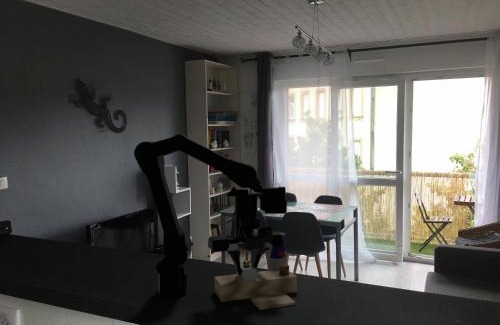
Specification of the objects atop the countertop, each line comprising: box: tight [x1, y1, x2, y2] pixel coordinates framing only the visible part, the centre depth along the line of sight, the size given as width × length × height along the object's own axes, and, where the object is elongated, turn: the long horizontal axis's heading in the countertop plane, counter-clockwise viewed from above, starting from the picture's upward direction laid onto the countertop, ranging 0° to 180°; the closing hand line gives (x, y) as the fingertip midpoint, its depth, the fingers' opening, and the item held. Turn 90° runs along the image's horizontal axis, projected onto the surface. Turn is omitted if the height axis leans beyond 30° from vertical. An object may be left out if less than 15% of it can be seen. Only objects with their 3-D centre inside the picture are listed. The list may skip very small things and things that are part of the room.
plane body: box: [214, 263, 298, 303], centre depth 105 cm, size 20×7×6 cm, turn 109°
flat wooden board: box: [250, 293, 296, 311], centre depth 99 cm, size 9×6×1 cm, turn 109°
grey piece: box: [236, 260, 258, 282], centre depth 104 cm, size 4×6×4 cm, turn 19°
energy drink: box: [267, 231, 287, 271], centre depth 119 cm, size 5×5×12 cm
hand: (246, 274), depth 105 cm, fingers closed on grey piece, 3 cm apart
